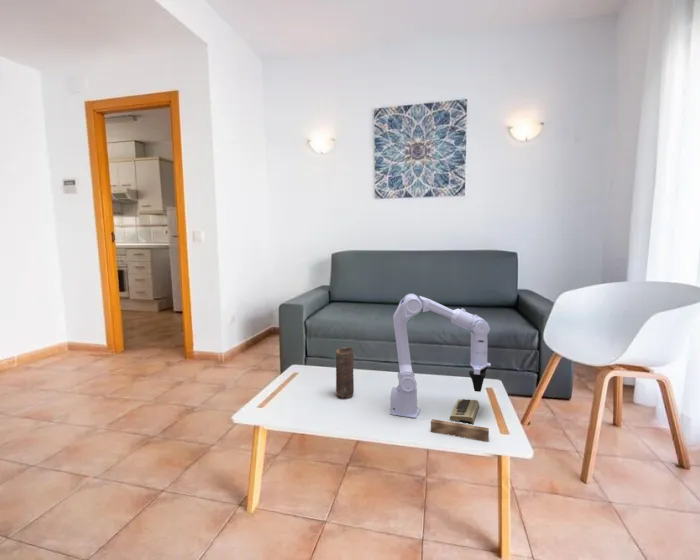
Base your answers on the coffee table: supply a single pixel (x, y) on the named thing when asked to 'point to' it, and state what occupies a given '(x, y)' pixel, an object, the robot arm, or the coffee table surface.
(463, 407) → the computer
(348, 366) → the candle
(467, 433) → the bar
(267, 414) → the coffee table surface
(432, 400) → the coffee table surface
